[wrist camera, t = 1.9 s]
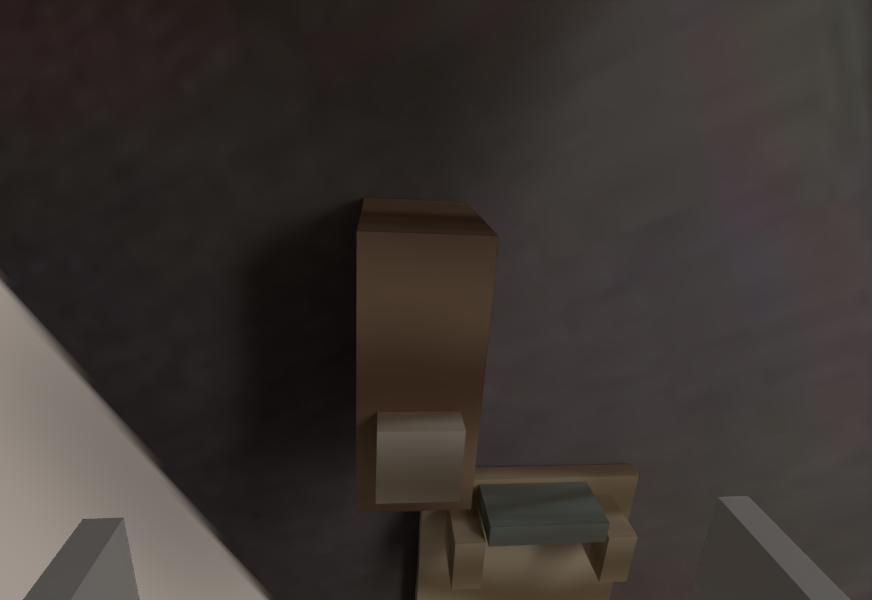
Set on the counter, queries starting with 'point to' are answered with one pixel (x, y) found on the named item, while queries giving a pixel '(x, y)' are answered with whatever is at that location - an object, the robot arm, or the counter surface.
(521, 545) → the cradle
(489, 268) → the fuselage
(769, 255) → the counter surface
